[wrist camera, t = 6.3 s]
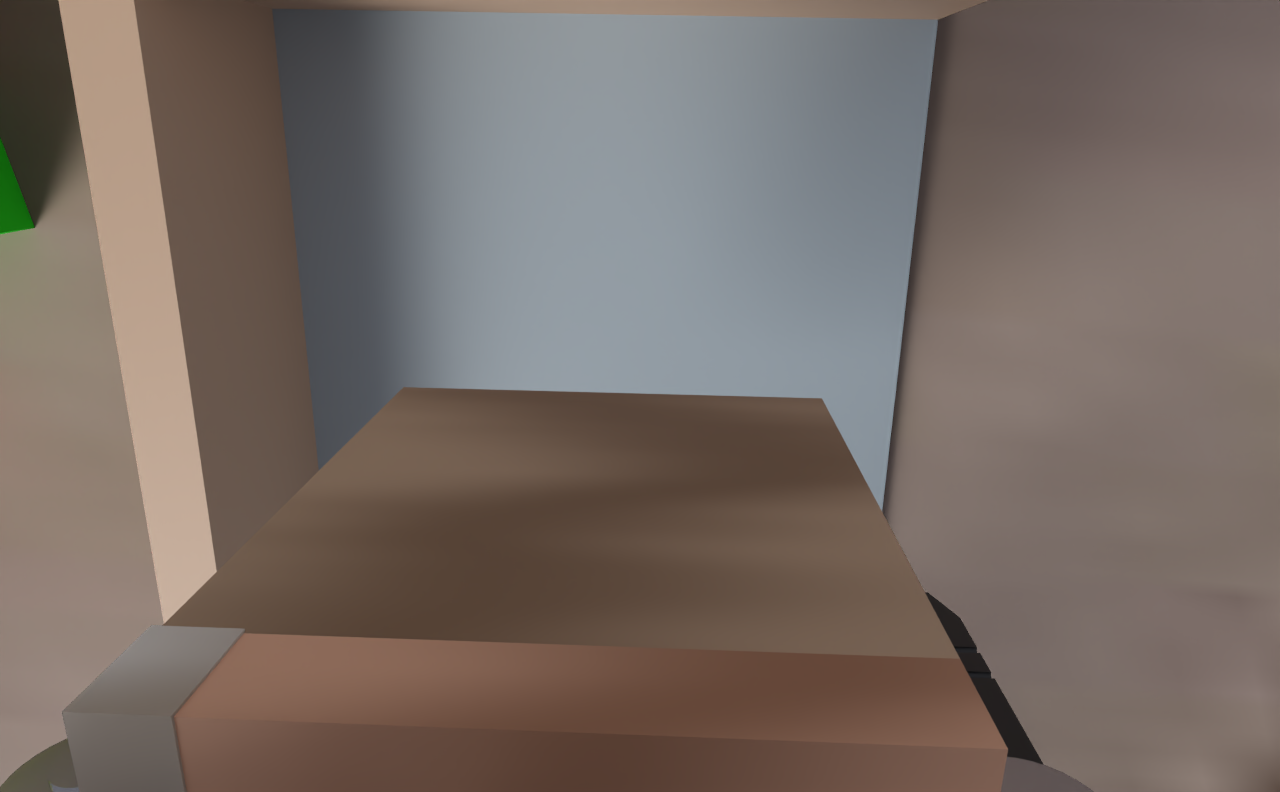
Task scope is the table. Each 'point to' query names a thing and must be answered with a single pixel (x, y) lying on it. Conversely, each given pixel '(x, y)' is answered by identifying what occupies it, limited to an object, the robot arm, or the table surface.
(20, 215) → the puzzle toy
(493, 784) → the block
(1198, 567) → the table surface
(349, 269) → the arena
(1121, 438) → the table surface
